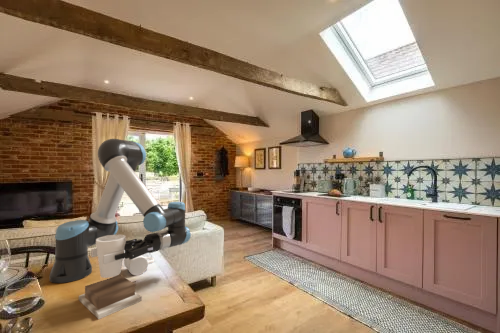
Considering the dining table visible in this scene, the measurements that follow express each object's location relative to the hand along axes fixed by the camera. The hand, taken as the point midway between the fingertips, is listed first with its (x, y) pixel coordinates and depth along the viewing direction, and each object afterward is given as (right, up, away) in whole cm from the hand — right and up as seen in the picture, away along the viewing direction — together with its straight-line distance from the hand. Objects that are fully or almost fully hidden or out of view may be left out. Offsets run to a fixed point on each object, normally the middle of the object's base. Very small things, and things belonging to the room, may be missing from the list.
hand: (97, 256), depth 84 cm
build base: (+3, -17, +3) cm, 18 cm away
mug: (+1, -18, +29) cm, 34 cm away
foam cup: (+3, -8, +3) cm, 9 cm away
